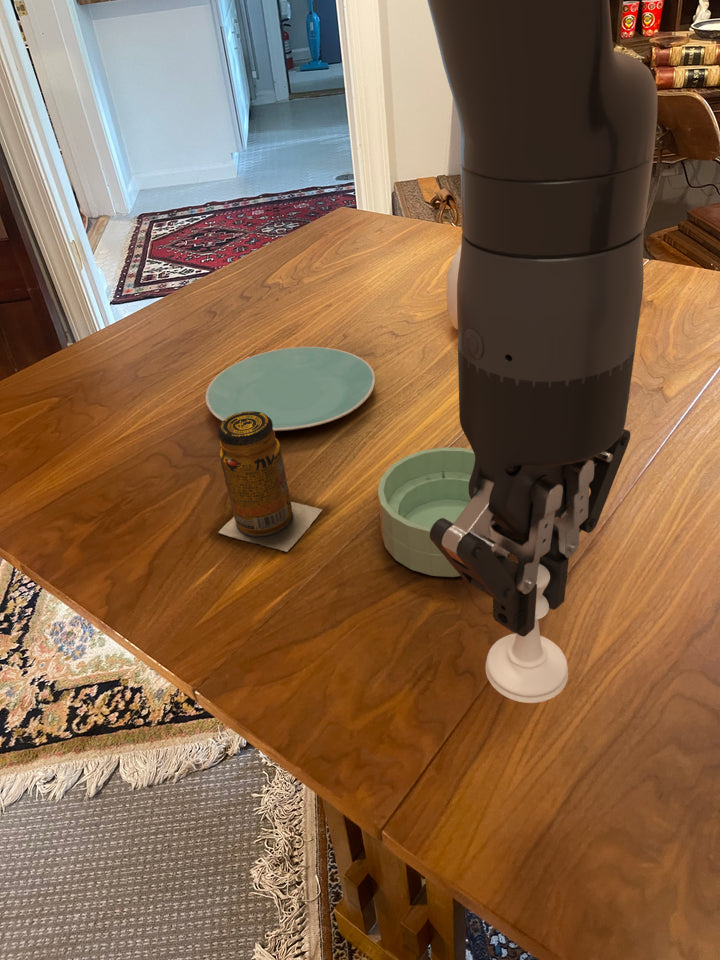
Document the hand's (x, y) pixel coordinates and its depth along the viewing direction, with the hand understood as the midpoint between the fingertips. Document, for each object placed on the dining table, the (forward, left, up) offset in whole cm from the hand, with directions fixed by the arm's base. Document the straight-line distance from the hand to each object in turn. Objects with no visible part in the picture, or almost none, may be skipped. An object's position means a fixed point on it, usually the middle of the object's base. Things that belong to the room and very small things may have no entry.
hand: (529, 611), depth 42 cm
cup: (+47, -54, -17) cm, 73 cm away
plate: (+54, -22, -17) cm, 61 cm away
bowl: (+21, -16, -17) cm, 31 cm away
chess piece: (0, 0, -5) cm, 5 cm away
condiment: (+36, -5, -17) cm, 40 cm away
